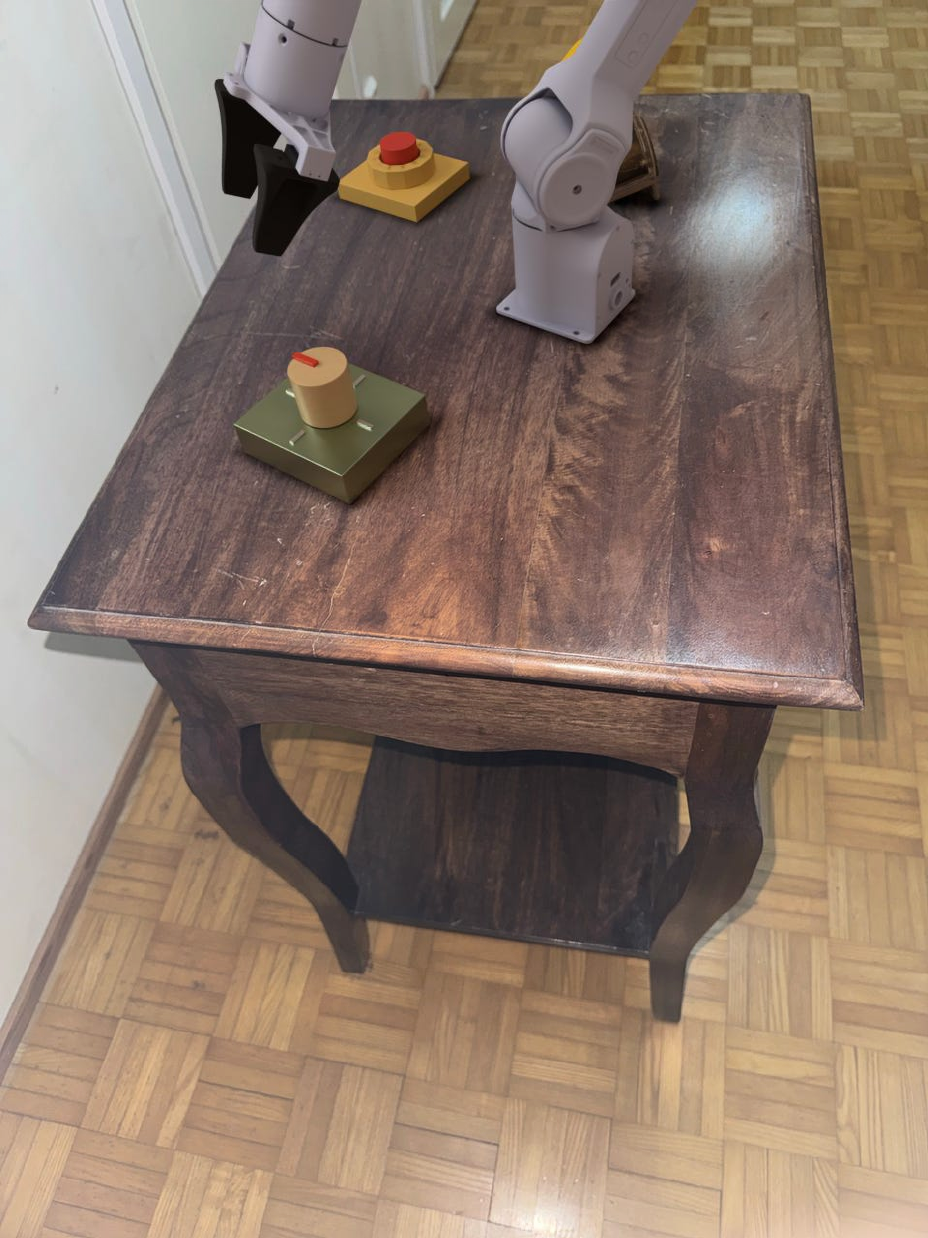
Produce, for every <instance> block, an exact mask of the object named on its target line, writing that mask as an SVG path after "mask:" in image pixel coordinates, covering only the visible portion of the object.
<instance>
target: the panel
mask: <svg viewBox="0 0 928 1238" xmlns="http://www.w3.org/2000/svg"><path fill="white" fill-rule="evenodd" d="M348 366H349V370H350V375H351V379H352V383H353V387H354V391H355V395H356V399H357V409H356V412H355V414H354V415H353V416H352V417H351V418H350V419H349V420H348V421H346V422H345V423H343V424H341V425H338V426H335V427H331V428H316V427H313V426H310V425H308V424H307V423H305V422H304V421H303V419H302V418H301V415H300V412H299V409H298V405H297V402H296V399H295V396H294V393H293V389H292V386H291V383H290V380H289V377H288V376H287V377H285V378H284V379H283V380H282V381H281V382H280V383H279V384H278V385H276V386H275V387H274V388H273V389H272V390H271V391H270V392H268V393H267V394H266V395H265V396H263V397H262V398H261V399H260V400H259V401H258V402H257V403H256V404H254V406H252V407H251V408H250V409H249V410H248V411H245V413H244V414H243V415H242V416H240V417H239V418H238V419H237V420H236V421H234V423H233V427H234V430H235V433H236V435H237V438H238V440H239V443H240V445H241V447H242V450H243V453H244V454H247V455H248V456H250V457H252V458H254V459H256V460H259V461H260V462H263V463H265V464H266V465H269V466H270V467H273V468H275V469H277V470H279V471H281V472H283V473H285V474H287V475H289V476H291V477H292V478H295V479H297V480H299V481H301V482H302V483H303V482H304V483H305V484H307V485H310V486H311V487H313V488H314V489H317V490H320V491H322V492H324V493H325V494H328V495H330V496H331V497H334V498H335V499H338V500H340V501H343V502H344V503H346V504H348V505H351V504H352V503H353V502H354V501H356V499H357V498H358V497H360V495H361V494H363V492H364V491H365V490H366V489H367V488H368V487H369V486H370V485H371V484H372V483H374V482H375V480H376V479H377V478H378V477H379V476H381V474H382V473H383V472H384V471H385V470H386V469H387V468H388V467H389V466H390V465H391V464H392V463H393V462H394V461H395V460H396V459H397V458H398V457H400V455H401V454H402V453H403V452H404V451H405V450H406V449H407V448H408V447H409V446H410V445H412V443H413V442H414V441H415V440H416V439H417V438H418V437H419V436H420V435H421V434H422V433H423V432H424V431H425V430H426V429H427V428H428V427H429V426H430V425H431V420H430V415H429V408H428V403H427V402H428V401H427V395H426V394H425V393H423V392H419V391H418V390H415V389H413V388H410V387H408V386H405V385H403V384H401V383H399V382H395V381H394V380H391V379H388V378H386V377H384V376H381V375H379V374H376V373H374V372H372V371H369V370H366V369H364V368H361V367H359V366H357V365H354V364H352V363H350V362H348Z"/></svg>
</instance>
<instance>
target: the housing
mask: <svg viewBox="0 0 928 1238" xmlns="http://www.w3.org/2000/svg"><path fill="white" fill-rule="evenodd" d="M416 143H417V150H418V158H417V159H416V160H414V161H413V162H411V163H408V164H405V165H395V166H390V165H387V164H384V163H383V161H382V156H381V150H380V143H378V144H377V145H376V146H375V147H373V148H372V149H371V150H369V151H368V155H367V157H366V160H365V161H363V162H362V163H361V164H359V165H358V166H357V167H356V168H354V169H352V170H351V171H349V173H347V174H346V175H345V176H342V178H341V179H340V184H339V187H338V189H337V191H338V195H339V199H341V200H344V201H348V202H351V203H354V204H356V205H360V206H363V207H367V208H370V209H374V210H376V211H380V212H383V213H386V214H388V215H392V216H395V217H399V218H402V219H405V220H408V221H412V222H415V223H418V222H419V221H420V220H422V219H423V218H424V217H425V216H427V215H428V214H429V213H430V212H431V211H432V210H434V209H435V208H436V207H437V206H439V205H440V204H441V203H442V202H443V201H445V200H446V199H447V198H449V197H450V196H451V195H452V194H453V193H454V192H455V191H457V190H458V189H459V188H461V187H462V186H463V185H464V184H465V183H467V181H469V180H470V178H471V176H470V166H469V165H470V164H469V162H468V161H466V160H465V161H464V160H461V159H457V158H454V157H450V156H446V155H443V154H439V153H435V152H434V148H433V147H432V146H431V145H430V144H429V142H427V141H426V140H423V139H420V138H416Z"/></svg>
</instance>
